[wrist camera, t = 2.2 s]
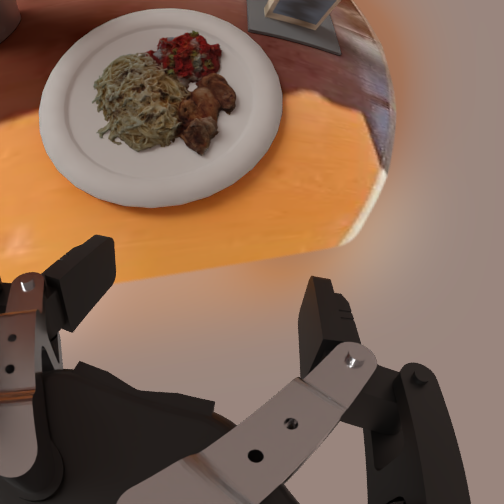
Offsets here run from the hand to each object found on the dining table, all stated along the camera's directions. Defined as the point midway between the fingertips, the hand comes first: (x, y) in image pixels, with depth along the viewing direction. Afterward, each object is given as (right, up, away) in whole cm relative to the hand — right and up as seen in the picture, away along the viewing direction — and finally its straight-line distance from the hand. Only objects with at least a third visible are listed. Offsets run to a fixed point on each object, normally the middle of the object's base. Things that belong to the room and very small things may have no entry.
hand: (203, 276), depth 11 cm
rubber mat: (+8, +47, +25) cm, 55 cm away
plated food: (-9, +20, +19) cm, 29 cm away
